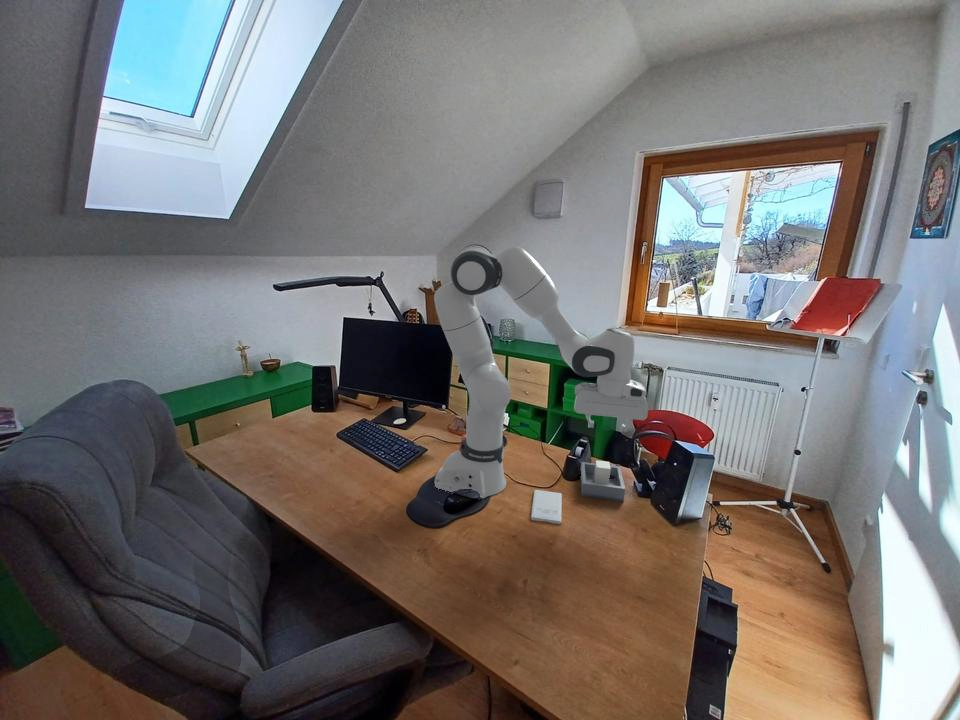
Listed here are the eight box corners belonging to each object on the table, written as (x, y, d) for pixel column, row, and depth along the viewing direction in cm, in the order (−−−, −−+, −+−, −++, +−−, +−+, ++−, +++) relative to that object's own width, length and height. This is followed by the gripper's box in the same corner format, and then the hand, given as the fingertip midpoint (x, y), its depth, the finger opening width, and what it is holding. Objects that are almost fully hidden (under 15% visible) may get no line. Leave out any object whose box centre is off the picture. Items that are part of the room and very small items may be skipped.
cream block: (594, 487, 118) (596, 467, 116) (593, 479, 122) (595, 460, 120) (608, 489, 117) (610, 468, 115) (606, 481, 121) (609, 461, 119)
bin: (581, 496, 116) (582, 483, 114) (580, 473, 127) (581, 461, 125) (623, 502, 113) (625, 488, 112) (618, 478, 124) (620, 466, 123)
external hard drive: (561, 497, 116) (561, 526, 104) (534, 494, 117) (530, 521, 106) (561, 493, 115) (561, 521, 104) (534, 489, 117) (530, 516, 105)
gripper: (575, 385, 109) (571, 429, 113) (652, 392, 105) (645, 438, 109) (575, 378, 115) (571, 420, 119) (648, 384, 111) (641, 428, 115)
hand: (607, 429), depth 114 cm, fingers open, 8 cm apart
